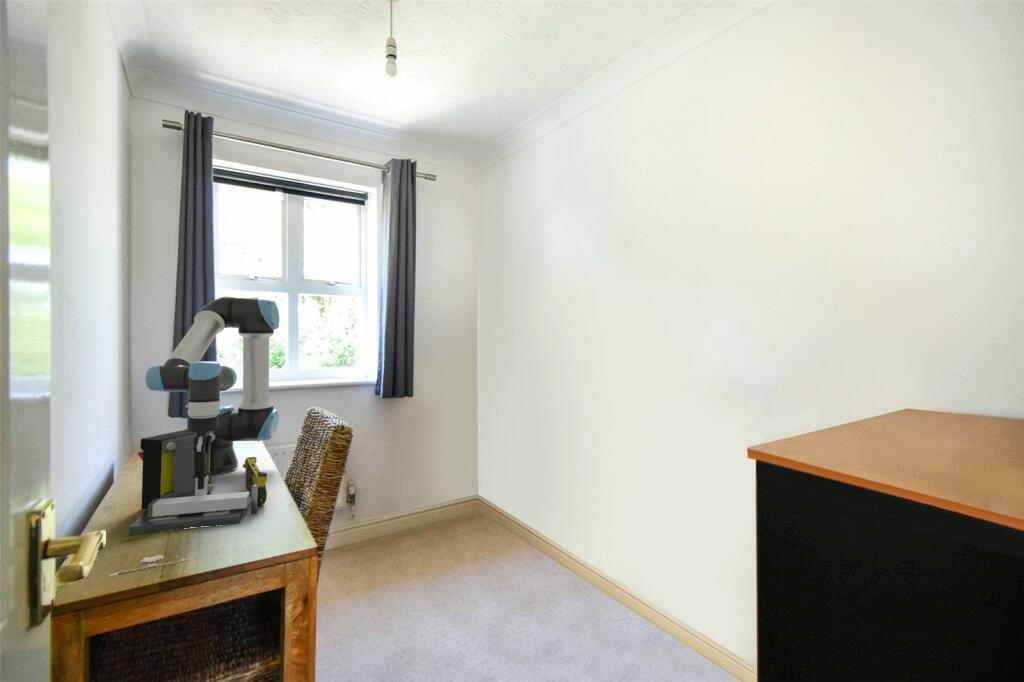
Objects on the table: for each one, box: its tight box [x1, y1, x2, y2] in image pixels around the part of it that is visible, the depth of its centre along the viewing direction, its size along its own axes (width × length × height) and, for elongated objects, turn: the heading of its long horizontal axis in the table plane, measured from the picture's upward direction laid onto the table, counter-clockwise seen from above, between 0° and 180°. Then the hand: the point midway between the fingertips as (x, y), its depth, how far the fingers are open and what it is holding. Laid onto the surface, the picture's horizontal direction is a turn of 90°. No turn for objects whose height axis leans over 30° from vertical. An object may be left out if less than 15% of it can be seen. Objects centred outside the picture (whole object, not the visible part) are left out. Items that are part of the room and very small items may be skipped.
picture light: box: [108, 554, 186, 577], centre depth 102 cm, size 14×4×2 cm, turn 125°
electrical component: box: [137, 428, 215, 510], centre depth 142 cm, size 18×10×20 cm, turn 168°
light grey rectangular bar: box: [148, 491, 250, 518], centre depth 128 cm, size 22×5×3 cm, turn 112°
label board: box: [128, 484, 258, 536], centre depth 128 cm, size 14×27×8 cm, turn 112°
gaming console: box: [242, 456, 269, 508], centre depth 147 cm, size 26×4×10 cm, turn 36°
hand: (201, 499), depth 133 cm, fingers closed
